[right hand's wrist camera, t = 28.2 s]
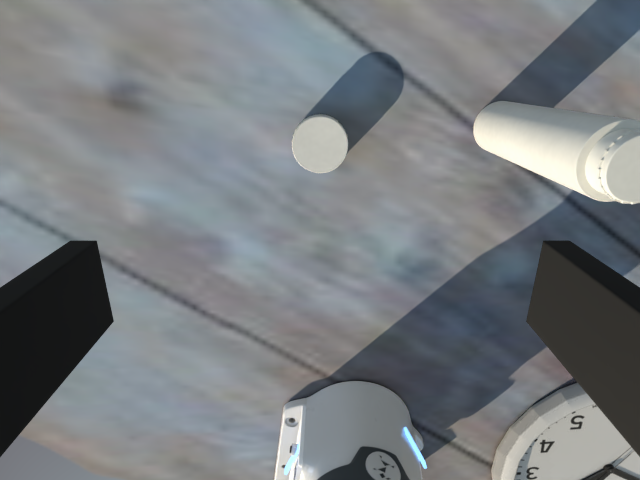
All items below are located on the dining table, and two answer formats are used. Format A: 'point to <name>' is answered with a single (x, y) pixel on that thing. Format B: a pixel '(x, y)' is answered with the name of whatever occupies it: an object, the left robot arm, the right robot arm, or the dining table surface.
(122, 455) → the dining table surface
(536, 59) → the dining table surface
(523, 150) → the white plastic cylinder
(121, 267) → the dining table surface
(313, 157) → the lid
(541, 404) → the wall clock
